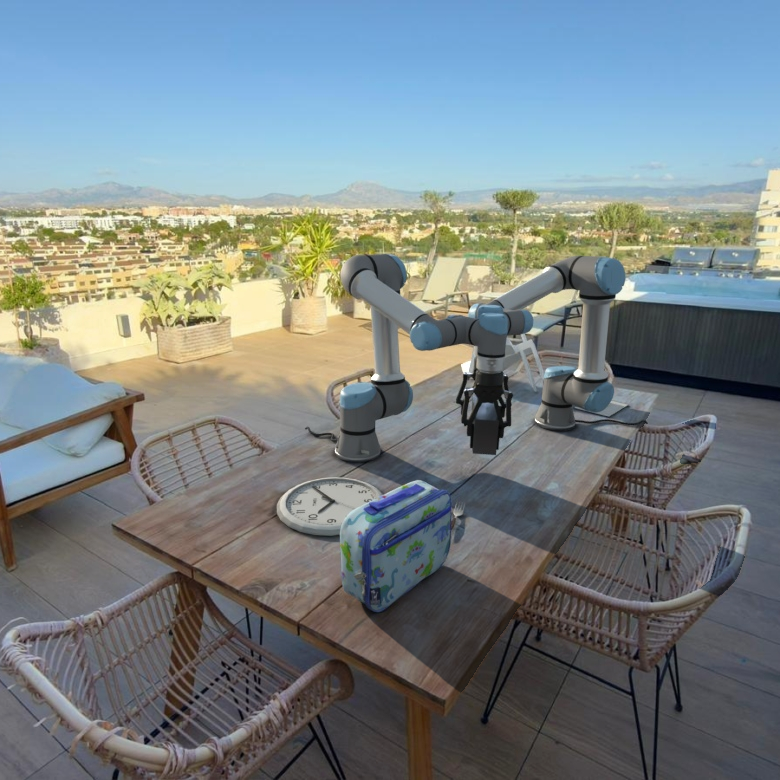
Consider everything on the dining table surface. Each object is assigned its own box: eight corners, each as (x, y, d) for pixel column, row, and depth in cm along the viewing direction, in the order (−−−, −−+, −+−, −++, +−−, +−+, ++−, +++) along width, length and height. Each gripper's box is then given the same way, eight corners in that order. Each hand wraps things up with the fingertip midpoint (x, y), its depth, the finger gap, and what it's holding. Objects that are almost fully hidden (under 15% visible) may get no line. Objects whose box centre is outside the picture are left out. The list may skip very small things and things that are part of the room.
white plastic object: (482, 420, 263) (461, 397, 239) (463, 347, 285) (443, 319, 261) (554, 396, 251) (539, 370, 226) (528, 322, 273) (513, 290, 249)
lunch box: (369, 626, 100) (370, 530, 93) (334, 598, 107) (332, 507, 101) (455, 567, 117) (460, 483, 111) (419, 547, 124) (423, 467, 118)
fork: (441, 537, 129) (441, 530, 128) (456, 506, 143) (456, 499, 142) (451, 539, 128) (452, 532, 127) (465, 508, 142) (466, 501, 142)
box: (470, 426, 169) (472, 395, 166) (491, 427, 168) (493, 396, 165) (472, 453, 148) (475, 419, 145) (496, 455, 148) (499, 420, 145)
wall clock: (392, 527, 129) (268, 531, 127) (391, 533, 130) (269, 537, 127) (383, 473, 158) (282, 475, 155) (383, 478, 158) (282, 480, 156)
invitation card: (608, 416, 214) (573, 407, 224) (608, 416, 214) (573, 408, 224) (628, 404, 229) (594, 396, 238) (628, 405, 229) (594, 397, 238)
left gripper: (454, 372, 141) (449, 450, 148) (527, 375, 139) (519, 454, 146) (454, 365, 149) (450, 440, 155) (524, 368, 146) (516, 444, 153)
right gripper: (449, 358, 156) (446, 427, 163) (526, 361, 154) (519, 432, 160) (449, 352, 163) (446, 419, 170) (522, 355, 161) (516, 423, 167)
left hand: (483, 447), depth 151 cm, fingers closed on box, 7 cm apart
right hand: (481, 425), depth 165 cm, fingers open, 10 cm apart
